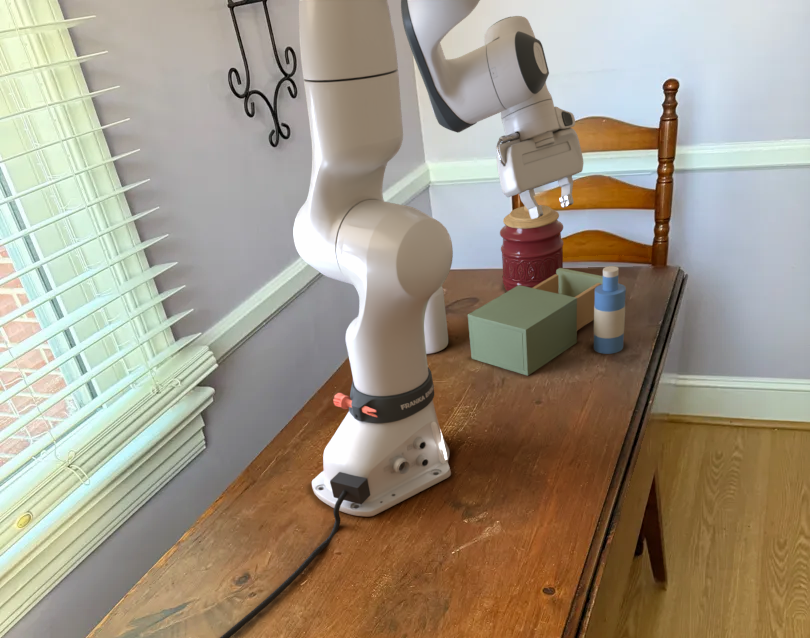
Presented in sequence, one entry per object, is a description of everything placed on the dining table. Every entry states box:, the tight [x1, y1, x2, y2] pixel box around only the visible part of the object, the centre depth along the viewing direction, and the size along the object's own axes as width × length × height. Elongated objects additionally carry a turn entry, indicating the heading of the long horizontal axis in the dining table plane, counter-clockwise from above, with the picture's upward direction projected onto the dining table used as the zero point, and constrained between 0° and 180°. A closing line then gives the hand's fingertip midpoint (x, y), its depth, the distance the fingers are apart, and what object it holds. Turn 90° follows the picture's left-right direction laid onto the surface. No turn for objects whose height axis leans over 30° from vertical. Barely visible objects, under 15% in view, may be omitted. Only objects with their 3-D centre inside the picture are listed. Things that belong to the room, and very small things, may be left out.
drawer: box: [533, 267, 603, 331], centre depth 151 cm, size 18×12×7 cm
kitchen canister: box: [499, 204, 564, 292], centre depth 164 cm, size 13×13×18 cm
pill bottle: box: [424, 285, 449, 355], centre depth 148 cm, size 8×8×15 cm
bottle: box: [593, 265, 627, 355], centre depth 138 cm, size 5×5×14 cm
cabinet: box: [467, 285, 578, 377], centre depth 143 cm, size 15×13×9 cm
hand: (553, 211), depth 137 cm, fingers open, 8 cm apart
